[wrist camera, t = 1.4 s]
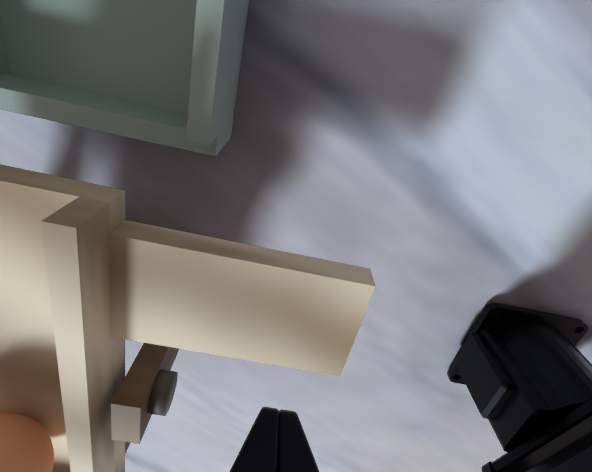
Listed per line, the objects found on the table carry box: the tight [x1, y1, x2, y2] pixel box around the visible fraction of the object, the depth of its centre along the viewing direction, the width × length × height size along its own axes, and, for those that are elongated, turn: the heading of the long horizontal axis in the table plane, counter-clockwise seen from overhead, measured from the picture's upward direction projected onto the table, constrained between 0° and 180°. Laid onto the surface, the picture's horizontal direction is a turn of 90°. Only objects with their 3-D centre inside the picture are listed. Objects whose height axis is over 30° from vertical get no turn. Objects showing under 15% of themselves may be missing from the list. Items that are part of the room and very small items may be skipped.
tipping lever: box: [0, 165, 375, 472], centre depth 14 cm, size 16×15×5 cm
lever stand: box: [111, 343, 179, 444], centre depth 16 cm, size 4×11×10 cm, turn 78°
